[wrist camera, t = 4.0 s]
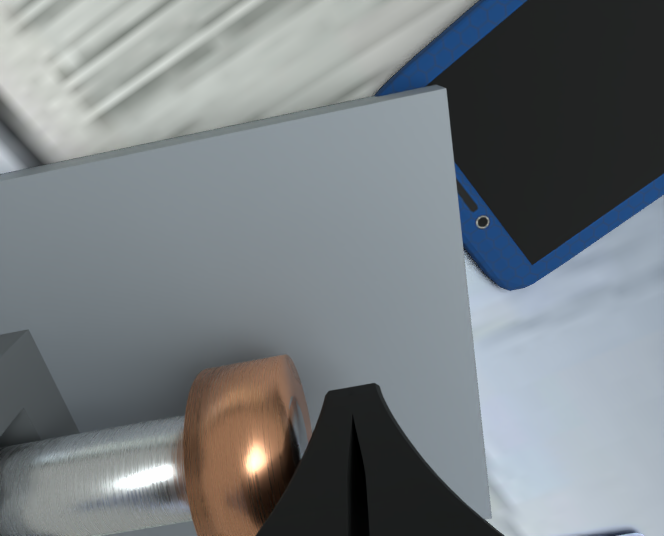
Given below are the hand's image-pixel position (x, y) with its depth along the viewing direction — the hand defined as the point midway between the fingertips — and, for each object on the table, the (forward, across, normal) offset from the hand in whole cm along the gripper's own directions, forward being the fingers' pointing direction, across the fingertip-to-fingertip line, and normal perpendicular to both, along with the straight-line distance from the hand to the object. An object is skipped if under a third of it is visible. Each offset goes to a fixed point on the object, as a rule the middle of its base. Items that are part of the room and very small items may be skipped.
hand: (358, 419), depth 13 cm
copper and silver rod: (+2, +8, 0) cm, 8 cm away
